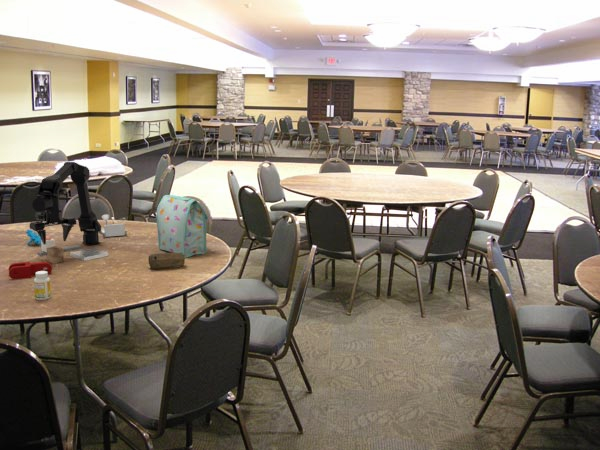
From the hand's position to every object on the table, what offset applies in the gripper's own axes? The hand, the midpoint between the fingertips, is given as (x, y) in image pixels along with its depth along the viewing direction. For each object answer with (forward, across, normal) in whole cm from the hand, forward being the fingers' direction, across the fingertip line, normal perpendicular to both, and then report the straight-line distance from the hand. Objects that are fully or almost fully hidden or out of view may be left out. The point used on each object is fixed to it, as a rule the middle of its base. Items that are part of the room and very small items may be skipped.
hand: (54, 242), depth 263 cm
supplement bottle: (+8, +27, +42) cm, 51 cm away
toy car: (+9, -47, -29) cm, 56 cm away
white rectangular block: (+7, -4, -14) cm, 16 cm away
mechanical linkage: (+9, +17, +12) cm, 23 cm away
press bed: (+8, -15, +2) cm, 17 cm away
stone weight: (+9, -28, +42) cm, 51 cm away
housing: (+8, 0, 0) cm, 9 cm away
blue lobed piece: (+9, -8, -34) cm, 36 cm away
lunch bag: (+9, -50, +25) cm, 57 cm away
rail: (+8, -9, -14) cm, 19 cm away
